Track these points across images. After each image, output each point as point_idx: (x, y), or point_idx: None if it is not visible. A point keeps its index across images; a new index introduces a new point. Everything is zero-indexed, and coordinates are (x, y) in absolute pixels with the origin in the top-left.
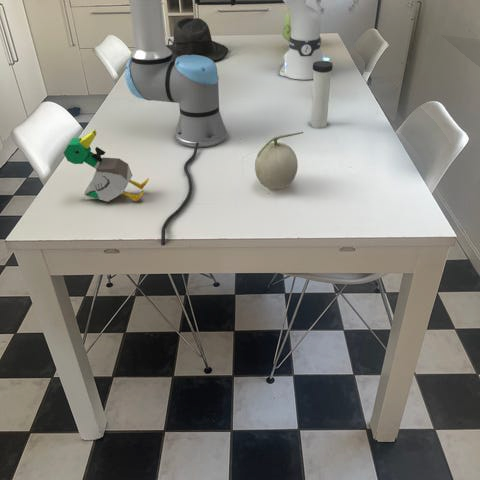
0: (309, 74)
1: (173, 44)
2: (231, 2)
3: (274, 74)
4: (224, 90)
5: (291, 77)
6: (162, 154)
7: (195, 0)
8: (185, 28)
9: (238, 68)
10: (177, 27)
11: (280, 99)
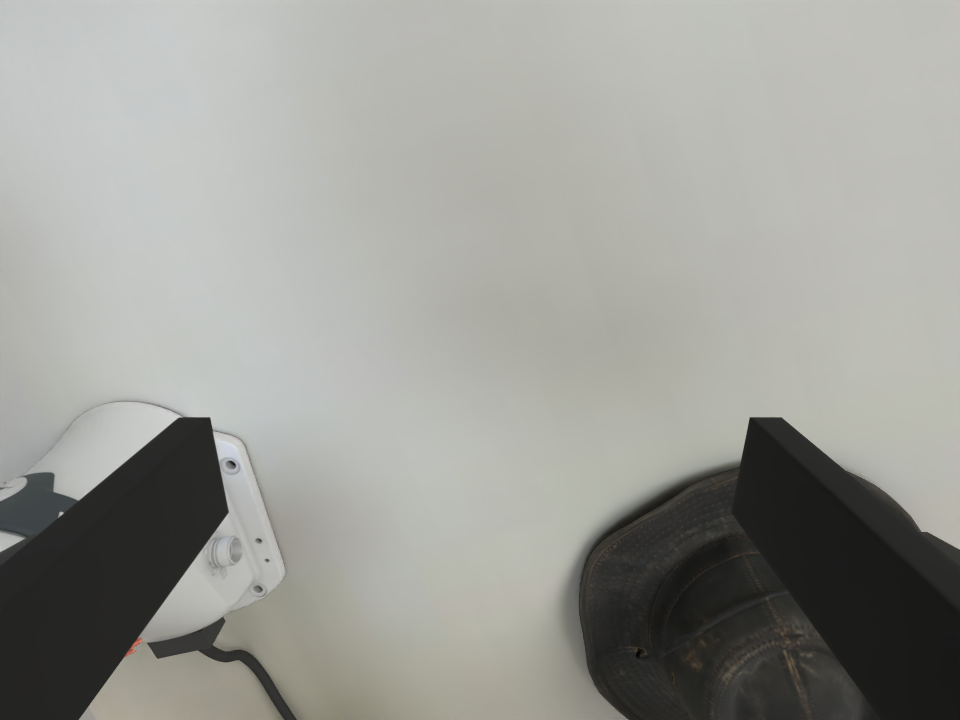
0: (70, 428)
1: None
2: (179, 438)
3: (271, 447)
4: (406, 157)
5: (165, 411)
6: None
7: (796, 439)
8: (835, 686)
9: (465, 484)
10: None
11: (72, 103)
